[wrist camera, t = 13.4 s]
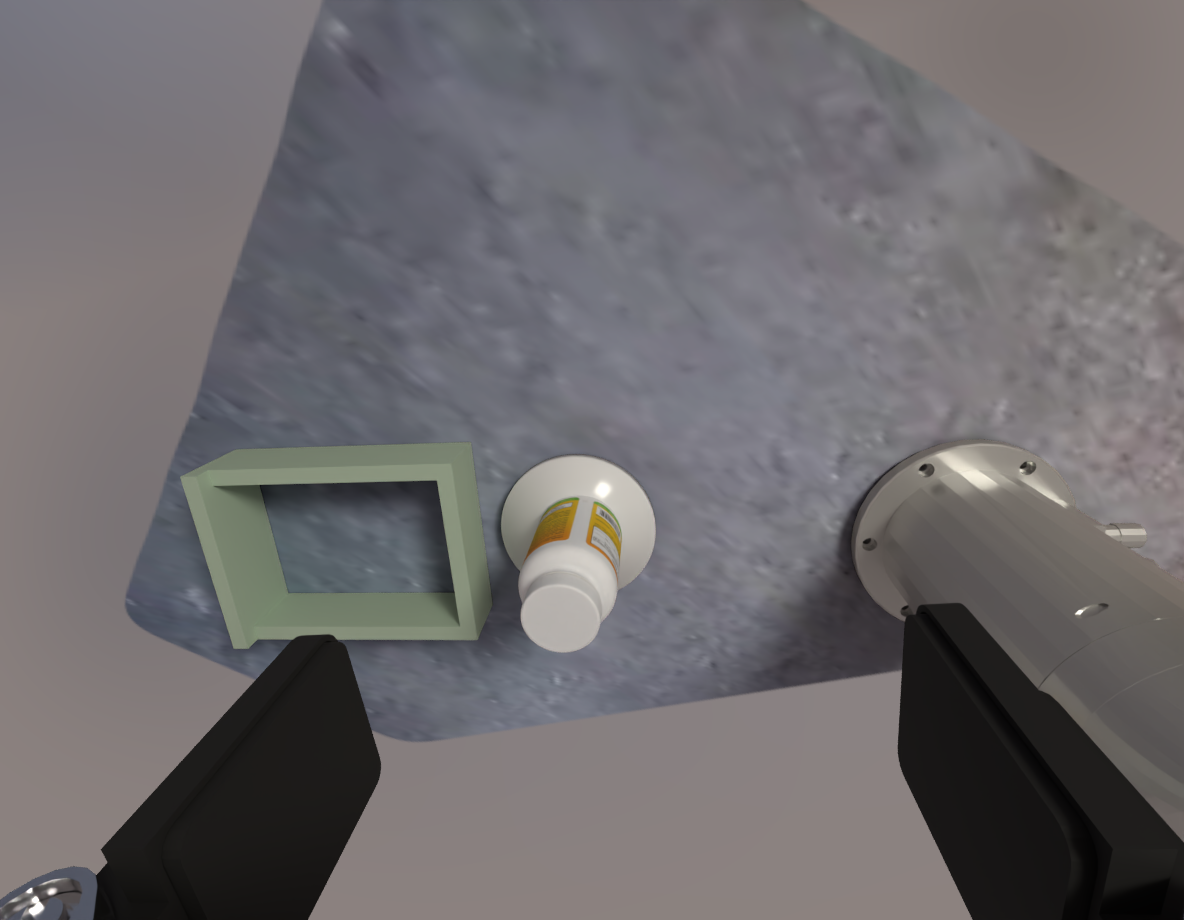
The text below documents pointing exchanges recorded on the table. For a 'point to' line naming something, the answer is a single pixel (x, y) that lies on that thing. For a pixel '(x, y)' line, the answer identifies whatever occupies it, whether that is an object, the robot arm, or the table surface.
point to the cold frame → (268, 611)
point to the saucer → (587, 480)
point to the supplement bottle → (570, 573)
